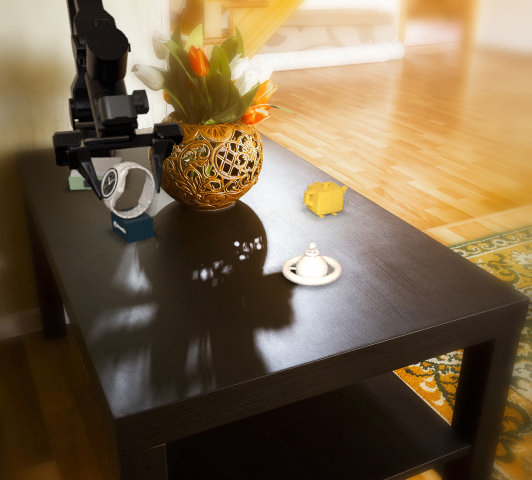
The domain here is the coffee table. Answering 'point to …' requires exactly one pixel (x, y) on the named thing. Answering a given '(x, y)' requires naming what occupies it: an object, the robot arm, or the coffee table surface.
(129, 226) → the watch
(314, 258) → the ring around a ball
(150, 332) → the coffee table surface
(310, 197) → the teapot
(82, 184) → the scale
